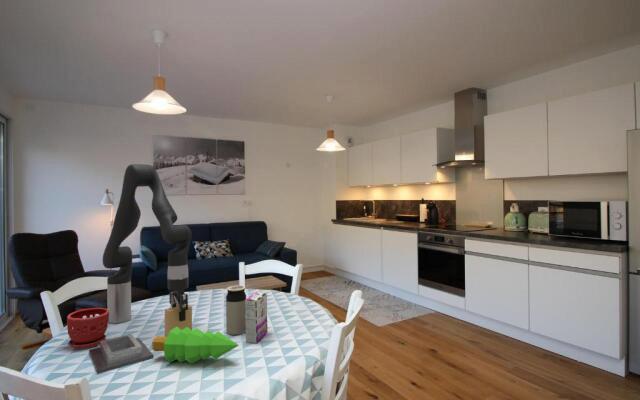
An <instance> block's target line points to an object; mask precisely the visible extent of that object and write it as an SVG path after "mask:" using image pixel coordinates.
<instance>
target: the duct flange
mask: <svg viewBox="0 0 640 400" xmlns="http://www.w3.org/2000/svg"><path fill="white" fill-rule="evenodd" d="M88 354H89V356H90V358H91V361H92V363H93V366H94V369H95V372H96V373H97V375H99V374H102V373H105V372H109V371H112V370H116V369H120V368H123V367H126V366H130V365H133V364H136V363H137V364H138V363H141V362H144V361H147V360H151V359H154V354H153V353H152V351H151V350H150V349H149V348H148V346H146V343H144V342H143V341H142V339H141V338H140V337H135V336H134V335H133V334H132V333H129V334H125V335H120V336H117V337H116V336H115V337H111V338H109V339H105V340H103V341H100V344H99V347H96V348H91V349H88Z"/></svg>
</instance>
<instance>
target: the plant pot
mask: <svg viewBox="0 0 640 400" xmlns="http://www.w3.org/2000/svg"><path fill="white" fill-rule="evenodd" d="M83 317H84V318H83ZM108 321H109V310H108V308H105V307H104V308H103V307H93V308H92V307H91V308H84V309H78V310H76V311H74V312H71V313H69V314H68V315H67V318H66V328H67V334H68V337H69V339H70V340H69V341H68V346H69V347H70V348H72V349H77V350H82V349H84V350H85V349H89V348H93V347H96V346H98V345H100V341H103V340H106V338H107V335H106V331H108V330H107V329H108V326H109V323H108Z"/></svg>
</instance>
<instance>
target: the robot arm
mask: <svg viewBox="0 0 640 400" xmlns="http://www.w3.org/2000/svg"><path fill="white" fill-rule="evenodd" d="M138 187H142V188H143V187H148V188H149V189H150V190H151V192H152V200H151V210H152V212H153V214H154V216H155V218H156V220H157V221H158V223H159V227H160V232H161V233H160V234H161V237H162V239H163V241H165V243H166V244H169V245H175V248H173V249H171V250H170V251H168V253H167V254H168V255H167V265H168V266H167V273H166V274H167V290H168V291H169V299H168V300H169V301H168V302H169V304H170V307H171V308H173V307H178V309H179V321H180V322H181V321H185V320H186V310H188V304H189V303H188V302H189V297H188V293H185V290H187V289H188V288H189V266H188V252H189V249H190V247H191V241H192V235H193V234H192V230H191V228H190V227H189V226H188V225H185V224H180V225H179V224H178V225H174V224H175V223H176V222H177V220H178V214H177V213H176V211H175V210H174V207H173V206H172V205H171V203H170V202H169V199H168V197H167V194H166V191H165V189H164V187H163V184H162V182H161V179H160V175H159V174H158V171H157V169H156V168H155V167H154V166H153V165H151V164H143V163H142V164H139V163H138V164H136V163H133V164H129V165H128V166H127V167H126V169H125V172H124V175H123V182H122V188H121V194H120V199H119V203H118V206H117V210H116V213H115V216H114V221H113V224H112V229H111V233H110V236H109V238H108V241H107V243H106V246H105V248H104V250H103V251H104V252H103V255H102V264H103V267H104V268H105V269H118V268H119V269H118V270H117V271H116V272H114V273H113V274H111V275H109V276H108V277H107V280H106V281H107V283H106V284H107V291H106V292H107V296H106V297H107V303H106V304H107V308H106V309H108V310H109V321H108V324H120V323H124V322H128V321H130V320H131V319H132V275H133V272H132V271H133V250H132V249H131V248H130V247H129V246H127V245H126V246H125V245H123V246H122V243H123V242H124V241H125V240H126V239H127V238H128V237H129V236H131V235H132V234H133V233H134V232H135V230H137V228H138V225H139V222H140V220H141V216H142V215H141V214H142V213H141V209H140V206H139V205H138V202H137V200H136V197H135V196H136V191H137V189H138Z"/></svg>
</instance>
